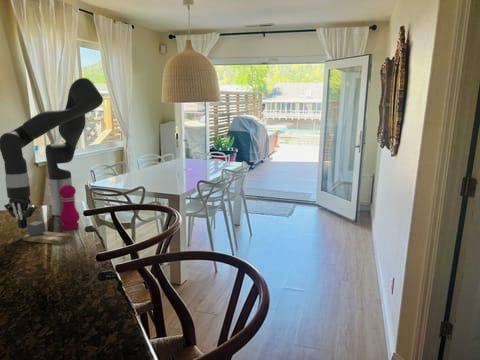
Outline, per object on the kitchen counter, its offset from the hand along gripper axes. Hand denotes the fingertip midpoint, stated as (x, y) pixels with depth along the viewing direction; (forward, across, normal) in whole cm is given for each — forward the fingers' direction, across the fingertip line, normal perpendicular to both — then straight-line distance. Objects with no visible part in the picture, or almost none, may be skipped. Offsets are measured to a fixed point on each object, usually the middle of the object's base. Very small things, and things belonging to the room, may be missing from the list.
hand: (22, 228), depth 137 cm
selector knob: (+1, +6, 0) cm, 6 cm away
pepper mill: (+4, +11, +13) cm, 17 cm away
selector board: (+4, +11, 0) cm, 11 cm away
